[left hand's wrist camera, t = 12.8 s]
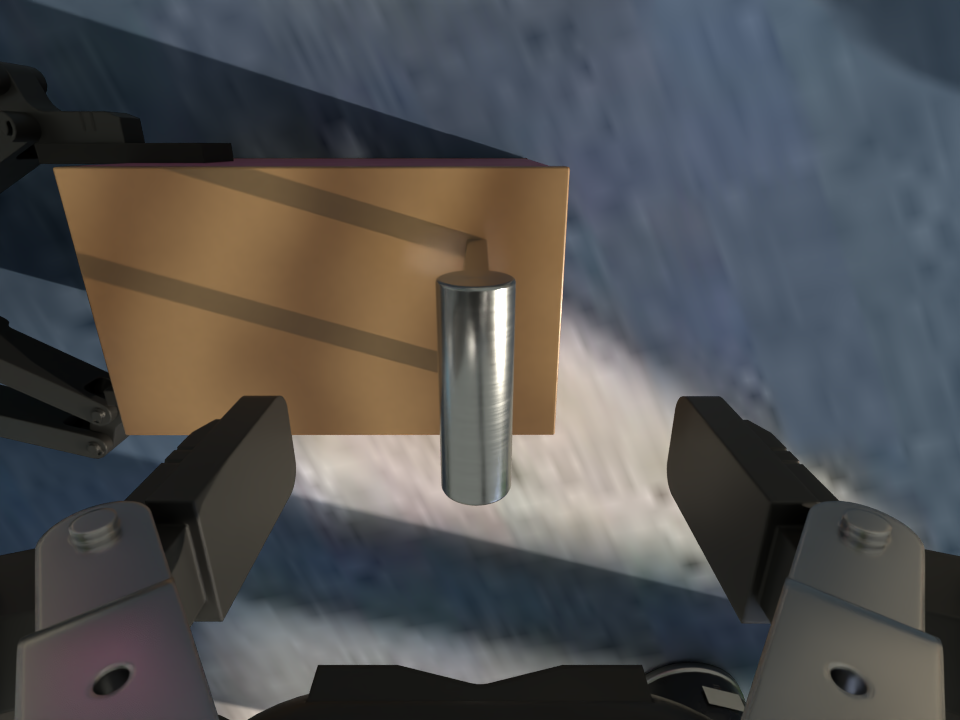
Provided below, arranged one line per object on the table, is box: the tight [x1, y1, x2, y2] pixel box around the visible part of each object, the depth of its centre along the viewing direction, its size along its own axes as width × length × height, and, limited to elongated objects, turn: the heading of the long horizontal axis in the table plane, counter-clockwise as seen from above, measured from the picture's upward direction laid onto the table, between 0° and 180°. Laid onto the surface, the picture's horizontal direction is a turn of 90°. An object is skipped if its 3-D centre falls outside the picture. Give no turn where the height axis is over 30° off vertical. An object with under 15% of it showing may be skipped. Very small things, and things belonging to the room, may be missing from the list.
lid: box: [53, 166, 570, 506], centre depth 16 cm, size 17×10×8 cm, turn 90°
